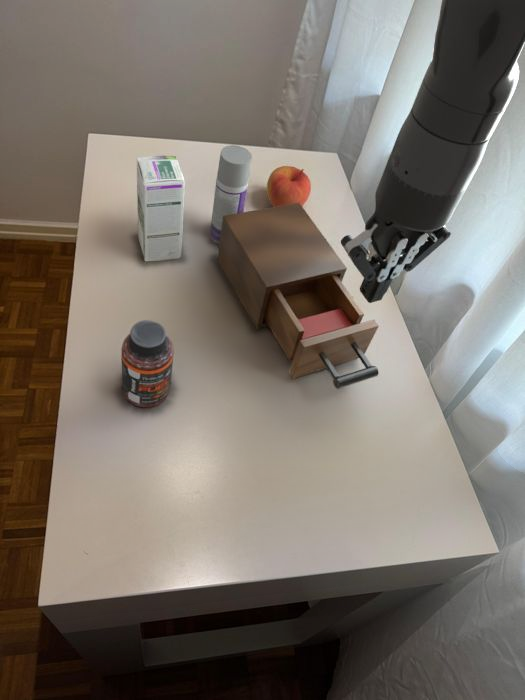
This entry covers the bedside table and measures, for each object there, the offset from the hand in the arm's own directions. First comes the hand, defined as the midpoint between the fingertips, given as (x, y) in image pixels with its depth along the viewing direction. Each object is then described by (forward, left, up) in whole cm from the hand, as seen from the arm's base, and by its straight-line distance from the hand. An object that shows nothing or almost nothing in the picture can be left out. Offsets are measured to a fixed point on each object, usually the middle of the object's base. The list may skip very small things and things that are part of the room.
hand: (370, 296), depth 65 cm
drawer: (0, -5, -16) cm, 17 cm away
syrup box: (+14, -31, -17) cm, 38 cm away
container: (+3, -31, -17) cm, 35 cm away
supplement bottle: (+24, -7, -17) cm, 30 cm away
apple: (-10, -35, -17) cm, 40 cm away
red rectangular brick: (0, -6, -15) cm, 16 cm away
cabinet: (0, -19, -17) cm, 25 cm away
